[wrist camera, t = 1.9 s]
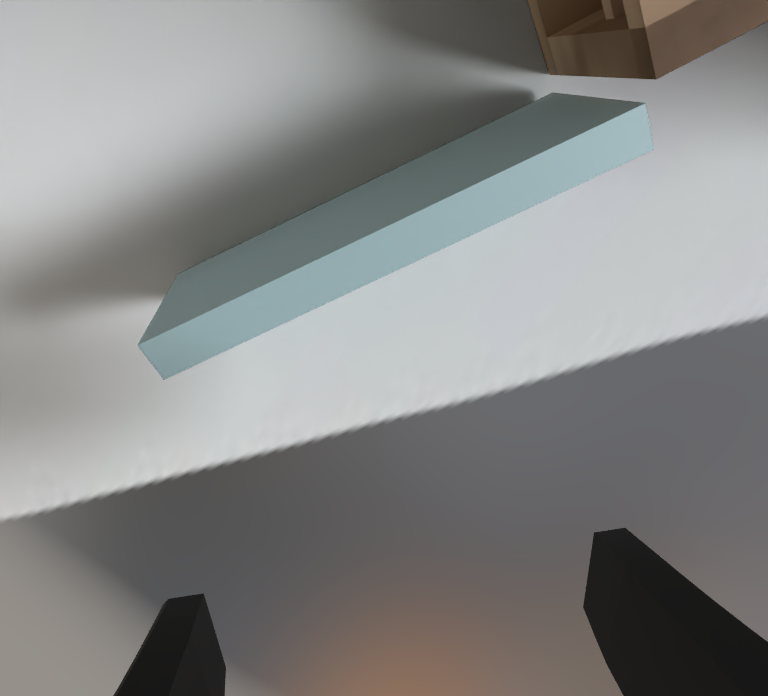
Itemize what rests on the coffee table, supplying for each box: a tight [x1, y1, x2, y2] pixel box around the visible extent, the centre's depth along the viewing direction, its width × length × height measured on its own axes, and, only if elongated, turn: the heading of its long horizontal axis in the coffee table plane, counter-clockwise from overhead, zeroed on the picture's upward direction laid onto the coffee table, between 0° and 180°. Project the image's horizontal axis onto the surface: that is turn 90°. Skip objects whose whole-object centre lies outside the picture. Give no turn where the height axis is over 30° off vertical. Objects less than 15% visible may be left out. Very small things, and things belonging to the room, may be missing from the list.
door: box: [138, 93, 654, 380], centre depth 15 cm, size 12×1×5 cm, turn 114°
